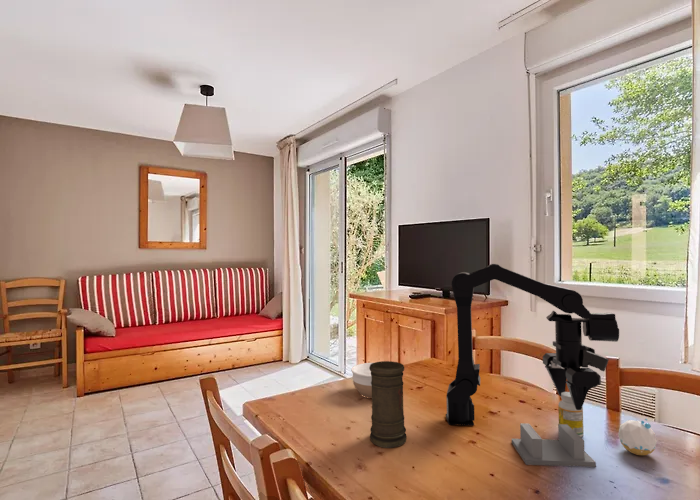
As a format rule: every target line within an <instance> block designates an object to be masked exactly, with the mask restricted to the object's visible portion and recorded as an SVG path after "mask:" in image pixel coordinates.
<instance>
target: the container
mask: <svg viewBox="0 0 700 500" xmlns="http://www.w3.org/2000/svg"><path fill="white" fill-rule="evenodd" d="M371 363H372V364H371V365H370V368H369V369H370V371H371V376H372V381H371V385H372V399H371V426H370V434H369V438H370V441H371V443H372V444H373V445H374V446H375V445H376V446H378V447H379V448H380V447H381V448H387V449H388V448H389V449H390V448H397V447H400V446H403V445H404V444H405V443H406V441H407V439H408V438H407V437H408V436H407V434H406V432H407V429H406V427H405V415H404V413H405V412H404V411H405V410H404V380H403V376H404V371H405V366H404V364H402V363H400V362H397V361H391V360H383V361H376V362H371Z"/></svg>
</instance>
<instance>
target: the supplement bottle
mask: <svg viewBox="0 0 700 500" xmlns="http://www.w3.org/2000/svg"><path fill="white" fill-rule="evenodd" d="M560 398H561V400H560V401H559V402H558V424H567V425H568V426H569V427H571V428H572V429H573V430H574V431H575V432H576V433H577V434H578V435H579V436H580V437H581V438H582V437H584V407H583V406H582V409H581V410H576V408H575V406H574V403H573V400H572V398H571V395H570V392H569V391H565V392H562V393H561V396H560Z"/></svg>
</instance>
